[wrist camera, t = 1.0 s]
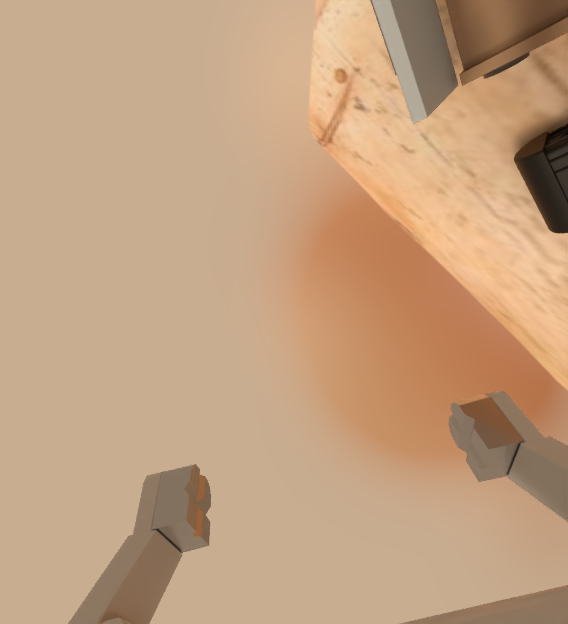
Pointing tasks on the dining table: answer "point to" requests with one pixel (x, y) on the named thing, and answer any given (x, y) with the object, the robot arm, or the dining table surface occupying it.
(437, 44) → the tailgate
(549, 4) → the tray
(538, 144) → the end cap
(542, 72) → the dining table surface
